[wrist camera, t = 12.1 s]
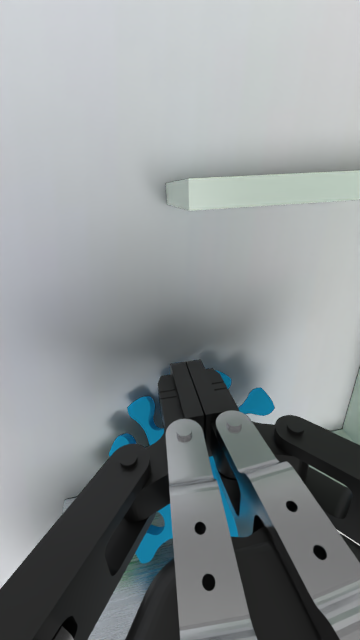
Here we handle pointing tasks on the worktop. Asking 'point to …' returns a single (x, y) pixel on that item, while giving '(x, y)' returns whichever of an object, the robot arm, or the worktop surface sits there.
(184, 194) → the bay
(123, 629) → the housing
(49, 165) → the worktop surface
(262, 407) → the gear
